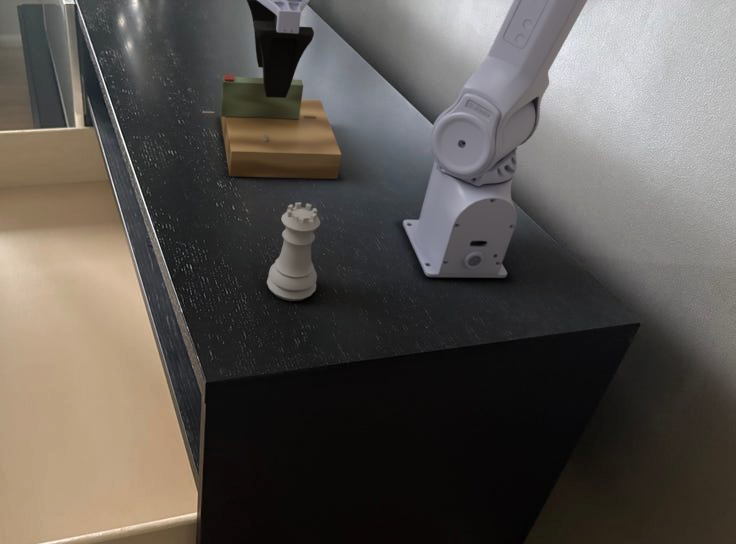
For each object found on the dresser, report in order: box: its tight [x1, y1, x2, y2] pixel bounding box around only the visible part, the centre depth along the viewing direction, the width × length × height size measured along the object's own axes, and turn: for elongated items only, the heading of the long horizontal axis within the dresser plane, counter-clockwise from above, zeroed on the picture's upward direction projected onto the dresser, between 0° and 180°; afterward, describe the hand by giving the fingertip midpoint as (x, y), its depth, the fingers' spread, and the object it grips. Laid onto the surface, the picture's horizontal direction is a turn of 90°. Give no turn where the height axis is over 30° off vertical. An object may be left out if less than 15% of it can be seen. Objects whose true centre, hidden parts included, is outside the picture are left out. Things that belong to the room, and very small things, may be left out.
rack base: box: [201, 98, 343, 180], centre depth 87 cm, size 16×15×3 cm
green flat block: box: [219, 74, 304, 119], centre depth 86 cm, size 9×2×4 cm, turn 96°
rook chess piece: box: [266, 201, 321, 302], centre depth 65 cm, size 4×4×8 cm
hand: (271, 80), depth 79 cm, fingers open, 7 cm apart
